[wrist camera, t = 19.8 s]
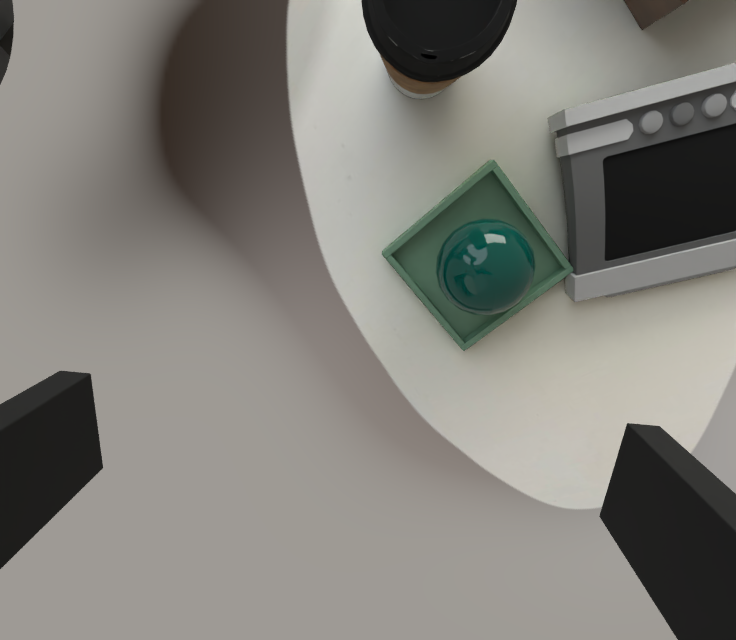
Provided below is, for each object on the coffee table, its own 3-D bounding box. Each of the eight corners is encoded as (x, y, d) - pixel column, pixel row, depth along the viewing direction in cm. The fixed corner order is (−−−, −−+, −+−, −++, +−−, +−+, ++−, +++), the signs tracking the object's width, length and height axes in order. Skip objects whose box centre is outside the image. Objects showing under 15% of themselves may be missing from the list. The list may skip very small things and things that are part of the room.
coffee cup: (362, 106, 36) (345, 54, 22) (380, -11, 34) (374, -156, 19) (460, 124, 36) (506, 84, 22) (485, 8, 34) (556, -122, 19)
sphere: (444, 206, 38) (457, 211, 30) (531, 225, 38) (566, 235, 30) (421, 291, 40) (429, 316, 33) (503, 309, 40) (530, 338, 33)
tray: (381, 251, 40) (381, 253, 38) (489, 160, 37) (494, 159, 35) (461, 345, 42) (463, 351, 41) (567, 267, 39) (575, 270, 38)
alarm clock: (811, 41, 30) (807, 265, 34) (756, 62, 34) (758, 258, 39) (564, 109, 32) (589, 314, 36) (542, 120, 36) (566, 301, 40)
